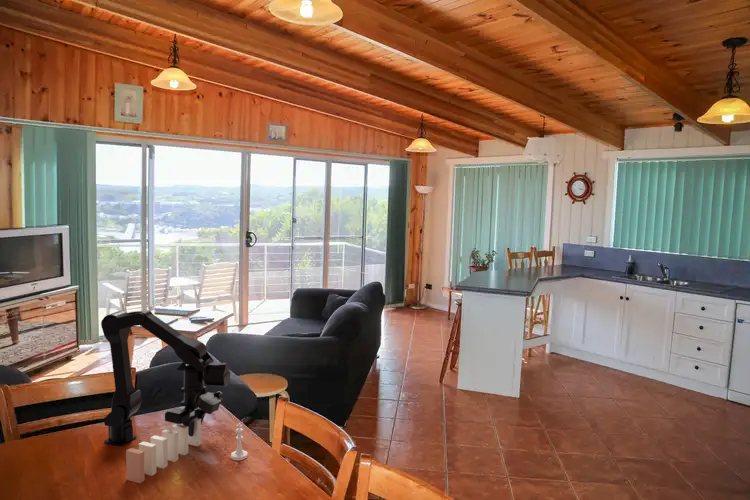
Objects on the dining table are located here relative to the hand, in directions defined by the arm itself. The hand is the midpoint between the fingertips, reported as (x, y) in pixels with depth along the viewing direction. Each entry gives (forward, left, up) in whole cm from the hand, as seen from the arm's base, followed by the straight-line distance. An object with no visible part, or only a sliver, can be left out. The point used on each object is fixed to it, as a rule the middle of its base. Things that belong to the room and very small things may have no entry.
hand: (194, 434), depth 159 cm
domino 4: (0, -10, -3) cm, 11 cm away
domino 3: (0, -14, -3) cm, 15 cm away
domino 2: (0, -19, -3) cm, 19 cm away
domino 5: (0, -6, -3) cm, 7 cm away
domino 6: (0, 0, -3) cm, 3 cm away
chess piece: (+17, -1, -3) cm, 17 cm away
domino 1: (0, -23, -3) cm, 23 cm away
